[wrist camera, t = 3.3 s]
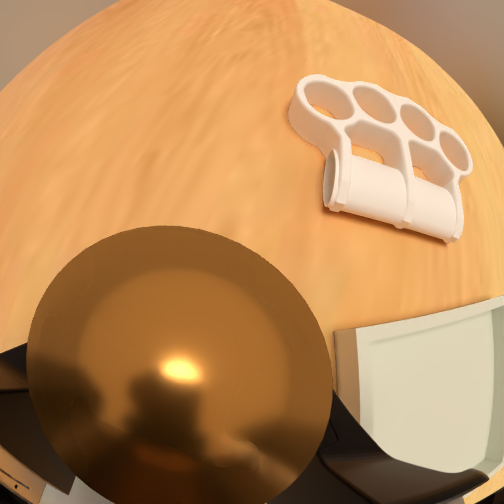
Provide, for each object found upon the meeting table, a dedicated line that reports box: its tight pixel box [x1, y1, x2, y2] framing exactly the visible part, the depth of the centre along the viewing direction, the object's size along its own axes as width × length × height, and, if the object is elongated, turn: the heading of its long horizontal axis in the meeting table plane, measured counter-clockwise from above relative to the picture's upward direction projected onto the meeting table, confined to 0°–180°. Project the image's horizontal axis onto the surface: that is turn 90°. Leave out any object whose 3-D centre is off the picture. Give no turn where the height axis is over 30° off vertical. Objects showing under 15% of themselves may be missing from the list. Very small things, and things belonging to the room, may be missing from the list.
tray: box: [334, 295, 504, 499], centre depth 13 cm, size 17×17×3 cm
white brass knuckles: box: [288, 74, 473, 243], centre depth 20 cm, size 3×18×15 cm
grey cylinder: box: [26, 226, 333, 504], centre depth 9 cm, size 4×4×13 cm
